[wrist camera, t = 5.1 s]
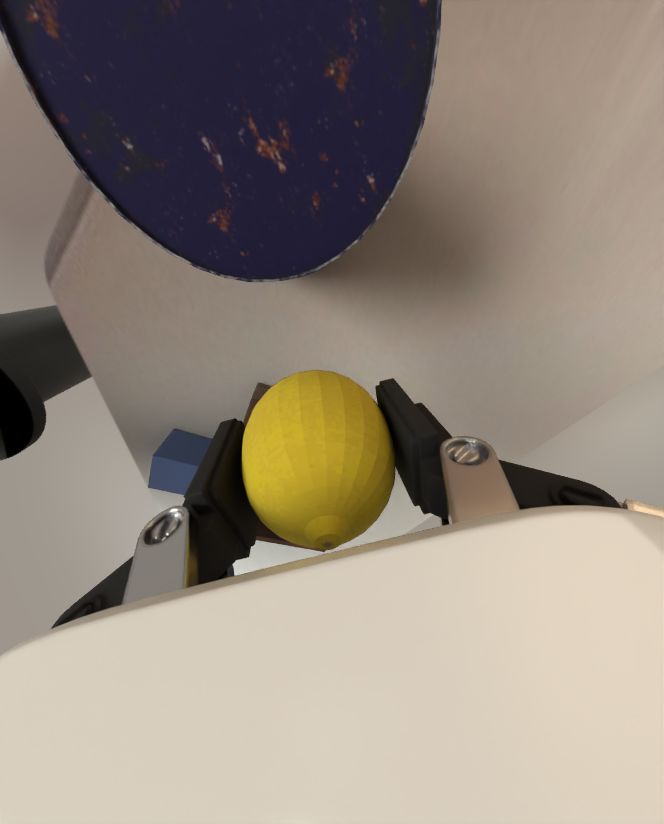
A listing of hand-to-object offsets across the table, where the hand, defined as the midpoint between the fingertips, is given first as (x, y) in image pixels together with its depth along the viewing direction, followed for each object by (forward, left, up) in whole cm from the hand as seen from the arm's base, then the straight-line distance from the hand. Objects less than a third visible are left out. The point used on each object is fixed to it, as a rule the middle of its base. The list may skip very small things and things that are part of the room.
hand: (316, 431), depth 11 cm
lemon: (0, 0, -3) cm, 3 cm away
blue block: (-8, -17, -15) cm, 24 cm away
